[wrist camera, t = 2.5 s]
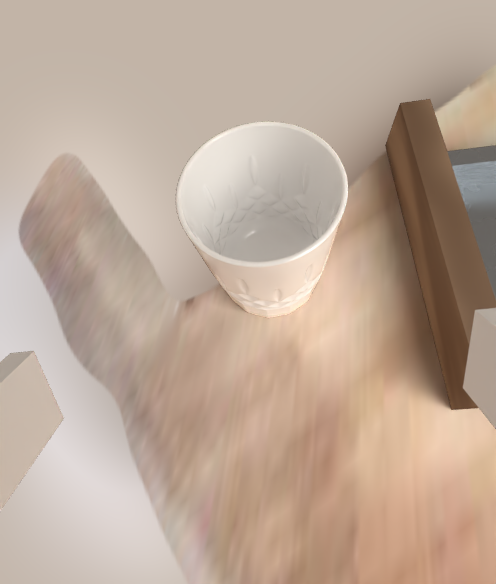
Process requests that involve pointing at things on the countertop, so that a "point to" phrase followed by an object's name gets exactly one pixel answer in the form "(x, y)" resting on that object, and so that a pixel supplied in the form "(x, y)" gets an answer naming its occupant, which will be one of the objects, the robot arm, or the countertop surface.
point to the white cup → (264, 212)
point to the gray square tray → (479, 199)
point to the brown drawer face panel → (439, 239)
